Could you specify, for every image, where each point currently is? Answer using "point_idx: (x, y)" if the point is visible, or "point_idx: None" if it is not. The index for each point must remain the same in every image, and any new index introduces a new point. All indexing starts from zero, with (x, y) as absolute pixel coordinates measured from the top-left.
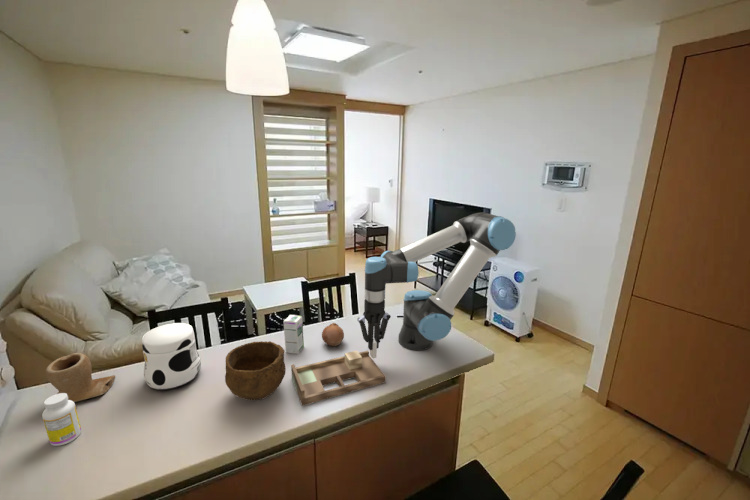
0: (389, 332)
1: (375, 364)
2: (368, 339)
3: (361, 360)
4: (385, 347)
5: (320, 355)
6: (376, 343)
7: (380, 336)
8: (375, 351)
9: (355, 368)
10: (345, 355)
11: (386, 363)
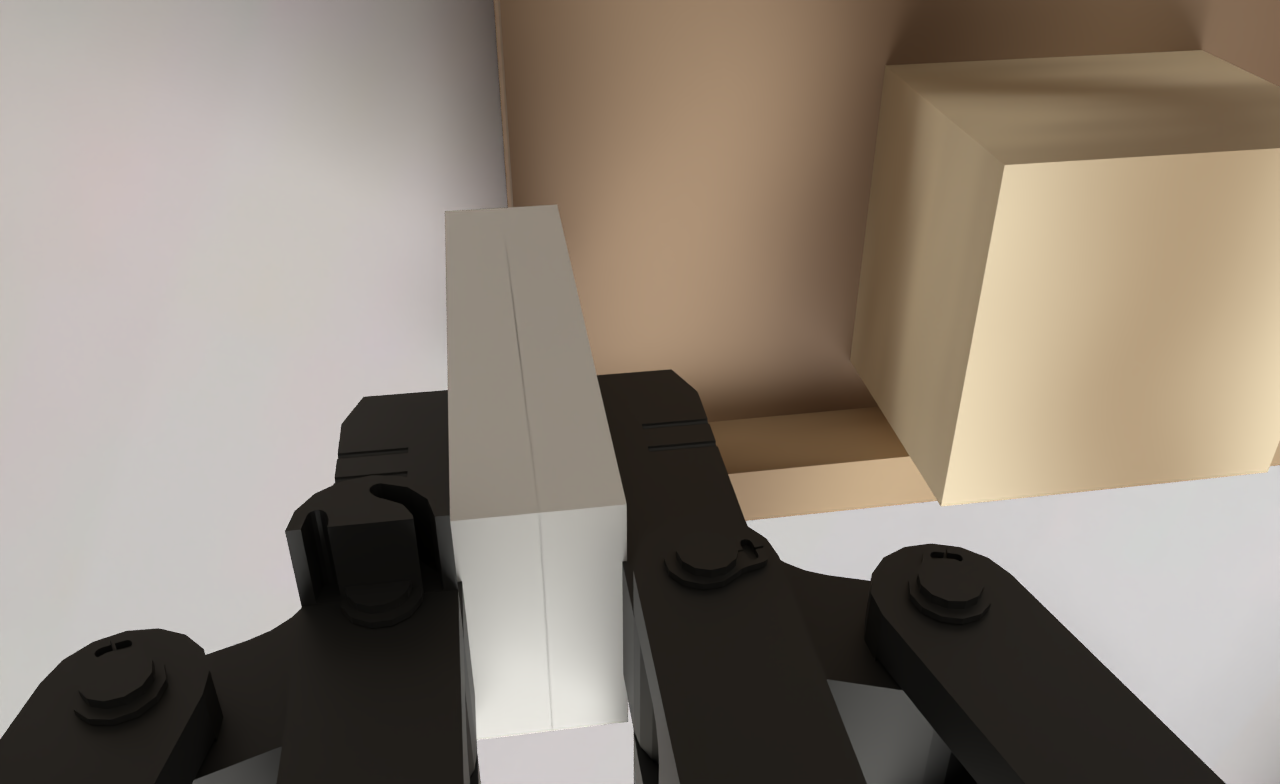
0: None
1: (522, 32)
2: (929, 648)
3: (974, 128)
4: (18, 666)
5: (1170, 679)
6: (465, 487)
7: (208, 770)
8: (488, 306)
9: (1055, 53)
10: (1270, 404)
11: (146, 157)
